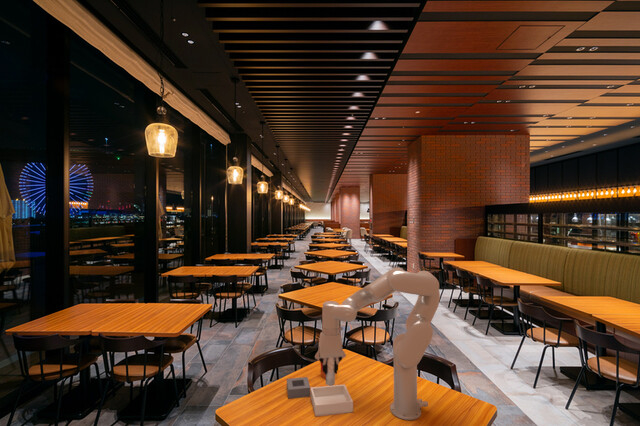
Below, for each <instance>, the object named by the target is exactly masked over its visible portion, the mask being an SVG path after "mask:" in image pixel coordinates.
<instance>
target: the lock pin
mask: <svg viewBox="0 0 640 426" xmlns="http://www.w3.org/2000/svg"><path fill="white" fill-rule="evenodd" d="M326 365H327V374H326V379H325V386H334V385H335V383H336V373H335V358H334V357H331V358H327V359H326Z"/></svg>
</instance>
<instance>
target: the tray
mask: <svg viewBox="0 0 640 426" xmlns="http://www.w3.org/2000/svg"><path fill="white" fill-rule="evenodd" d="M310 400H311V405H312V409H313V413H314V416H315V417H324V416H333V415H341V414H350V413H354V400H353V399H352V396H351V394H350V392H349V391H348V388H347V386H346V384H337V385H335V384H334V385H332V386H329V385H325V386H314V387H312V386H311V387H310Z"/></svg>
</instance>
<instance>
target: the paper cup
mask: <svg viewBox="0 0 640 426" xmlns="http://www.w3.org/2000/svg"><path fill="white" fill-rule="evenodd" d="M320 375H321V376H320V377H321V378H322V379H323V380H326V374H325V373H324V372H323V364H322V363H321V362H320Z"/></svg>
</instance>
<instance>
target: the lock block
mask: <svg viewBox="0 0 640 426" xmlns="http://www.w3.org/2000/svg"><path fill="white" fill-rule="evenodd" d="M286 391H287V398H288V400H289V399H299V398H308V397H310V398H311V386H310V382H309V378H308V376H306V377H305V376H303V377H302V376H301V377H292V378H286Z"/></svg>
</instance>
